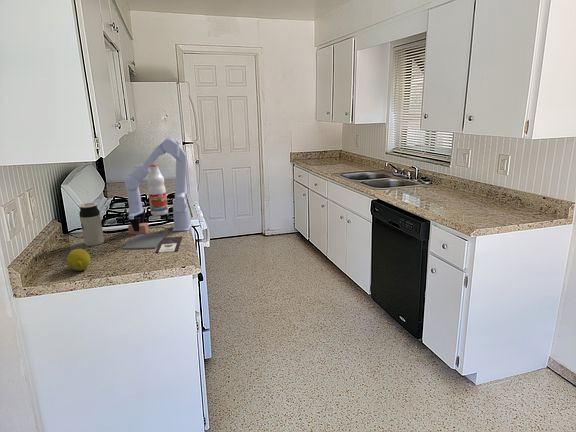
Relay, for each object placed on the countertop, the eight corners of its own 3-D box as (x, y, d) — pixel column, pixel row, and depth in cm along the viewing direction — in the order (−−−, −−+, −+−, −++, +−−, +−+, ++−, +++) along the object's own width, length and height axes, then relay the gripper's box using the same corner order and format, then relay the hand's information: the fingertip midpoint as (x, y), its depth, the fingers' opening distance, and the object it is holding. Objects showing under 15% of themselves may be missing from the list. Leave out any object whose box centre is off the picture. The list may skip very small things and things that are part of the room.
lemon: (91, 272, 147) (87, 252, 144) (67, 276, 144) (63, 256, 142) (92, 262, 156) (89, 243, 154) (70, 265, 153) (66, 246, 151)
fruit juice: (165, 210, 229) (159, 162, 221) (170, 213, 222) (165, 164, 214) (148, 213, 224) (142, 164, 216) (153, 216, 217) (147, 166, 209)
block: (129, 234, 189) (127, 226, 188) (132, 231, 193) (131, 223, 192) (145, 233, 189) (144, 225, 188) (148, 230, 194) (147, 222, 192)
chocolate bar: (182, 236, 182) (177, 250, 165) (182, 238, 183) (177, 252, 165) (162, 237, 181) (155, 252, 164) (162, 239, 181) (155, 254, 164)
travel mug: (104, 239, 183) (98, 201, 178) (103, 244, 176) (97, 205, 171) (85, 241, 180) (78, 203, 175) (84, 247, 173) (76, 207, 168)
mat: (137, 235, 186) (137, 234, 186) (167, 234, 186) (166, 233, 186) (122, 249, 169) (122, 248, 169) (155, 248, 169) (154, 247, 169)
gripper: (132, 198, 194) (135, 225, 198) (120, 206, 180) (124, 234, 184) (146, 198, 194) (149, 224, 198) (135, 206, 180) (139, 234, 184)
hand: (138, 229), depth 191 cm, fingers closed on block, 5 cm apart
